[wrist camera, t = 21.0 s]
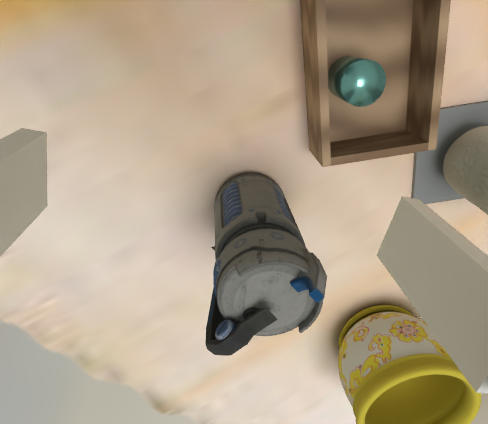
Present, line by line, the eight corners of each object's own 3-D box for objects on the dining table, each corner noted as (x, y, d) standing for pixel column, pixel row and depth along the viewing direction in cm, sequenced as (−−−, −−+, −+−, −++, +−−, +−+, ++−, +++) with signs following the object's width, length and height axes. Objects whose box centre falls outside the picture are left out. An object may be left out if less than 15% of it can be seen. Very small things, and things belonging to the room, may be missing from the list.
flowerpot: (354, 380, 73) (390, 468, 59) (307, 326, 66) (335, 411, 51) (439, 336, 70) (499, 418, 55) (398, 274, 63) (455, 349, 48)
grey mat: (417, 111, 51) (419, 112, 50) (519, 95, 51) (522, 96, 50) (411, 204, 57) (412, 206, 56) (501, 190, 57) (504, 191, 56)
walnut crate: (299, -18, 43) (314, -25, 37) (419, -36, 43) (455, -47, 37) (309, 150, 52) (322, 166, 45) (409, 134, 52) (436, 149, 46)
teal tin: (326, 59, 46) (341, 63, 40) (366, 53, 46) (386, 56, 40) (327, 100, 48) (342, 109, 43) (365, 94, 48) (385, 103, 43)
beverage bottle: (187, 210, 54) (170, 337, 32) (258, 152, 51) (293, 248, 29) (233, 254, 58) (246, 394, 36) (301, 202, 55) (361, 321, 33)
